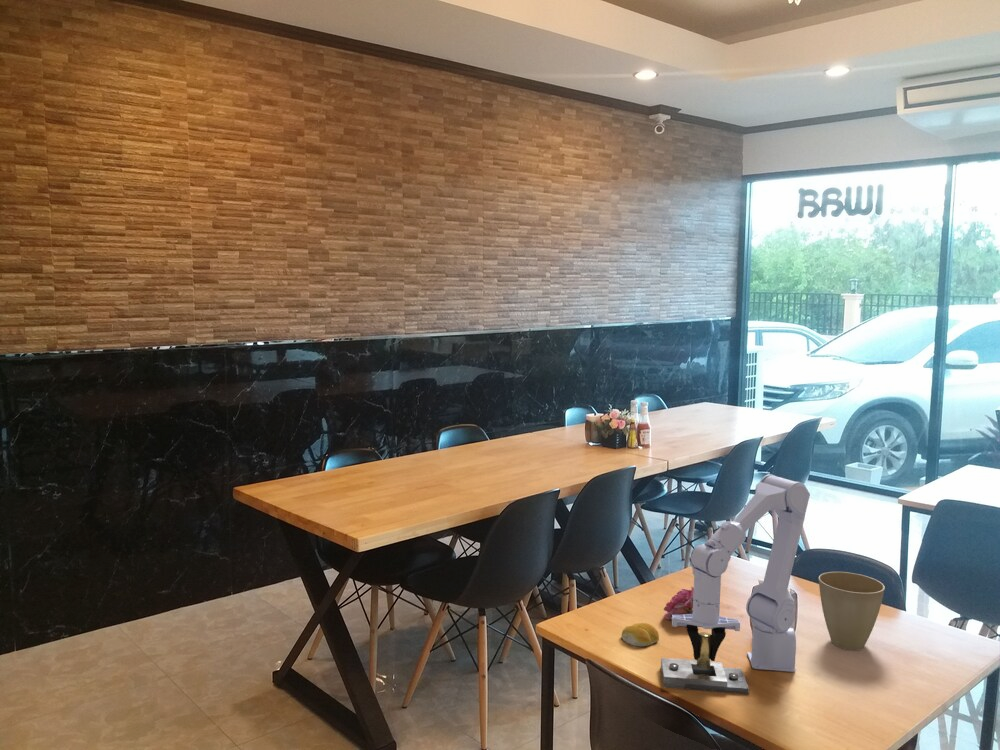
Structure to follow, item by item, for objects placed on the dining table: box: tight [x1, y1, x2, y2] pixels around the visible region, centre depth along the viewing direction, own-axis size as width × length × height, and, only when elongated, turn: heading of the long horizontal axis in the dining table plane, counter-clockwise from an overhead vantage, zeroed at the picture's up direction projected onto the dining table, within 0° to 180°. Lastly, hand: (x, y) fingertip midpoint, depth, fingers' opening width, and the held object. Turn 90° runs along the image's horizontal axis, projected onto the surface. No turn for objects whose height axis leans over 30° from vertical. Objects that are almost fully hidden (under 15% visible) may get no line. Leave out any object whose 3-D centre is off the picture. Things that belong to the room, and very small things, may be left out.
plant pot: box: [818, 571, 886, 651], centre depth 190 cm, size 15×15×16 cm
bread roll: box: [621, 622, 660, 647], centre depth 192 cm, size 8×9×4 cm
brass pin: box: [697, 631, 712, 669], centre depth 171 cm, size 3×3×7 cm
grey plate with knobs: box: [660, 657, 750, 695], centre depth 171 cm, size 18×9×3 cm, turn 82°
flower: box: [663, 586, 694, 621], centre depth 203 cm, size 11×10×10 cm
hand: (704, 658), depth 171 cm, fingers closed on brass pin, 3 cm apart
